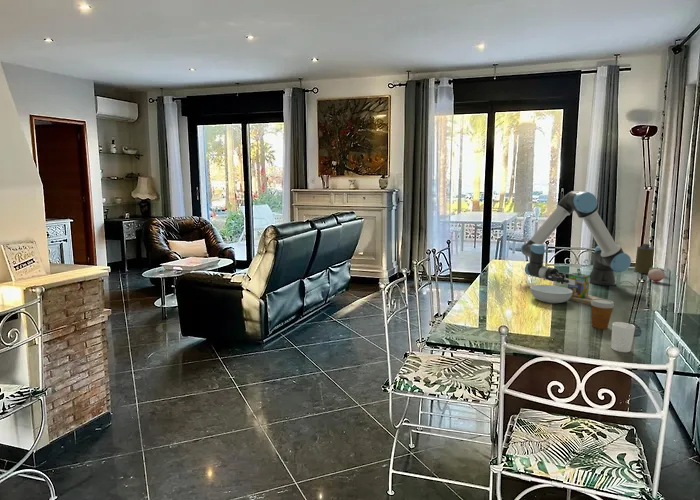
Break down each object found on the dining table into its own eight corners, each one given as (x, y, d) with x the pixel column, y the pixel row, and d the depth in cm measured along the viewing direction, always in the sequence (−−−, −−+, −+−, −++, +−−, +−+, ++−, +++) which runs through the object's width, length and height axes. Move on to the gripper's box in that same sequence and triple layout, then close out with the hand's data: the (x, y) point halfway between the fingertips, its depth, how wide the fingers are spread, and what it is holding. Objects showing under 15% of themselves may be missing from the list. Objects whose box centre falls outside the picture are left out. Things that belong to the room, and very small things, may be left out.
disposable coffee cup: (583, 323, 231) (586, 298, 229) (603, 323, 232) (606, 298, 230) (595, 330, 221) (598, 303, 219) (616, 330, 222) (619, 304, 220)
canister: (654, 274, 349) (658, 245, 345) (639, 273, 349) (642, 244, 345) (645, 270, 359) (649, 243, 356) (630, 270, 359) (634, 242, 356)
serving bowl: (569, 298, 275) (570, 286, 274) (572, 308, 256) (574, 295, 254) (529, 294, 282) (530, 282, 281) (529, 304, 262) (530, 291, 261)
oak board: (569, 292, 289) (569, 289, 289) (607, 302, 269) (608, 299, 269) (552, 294, 283) (552, 292, 282) (591, 305, 262) (591, 302, 262)
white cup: (611, 344, 204) (613, 320, 202) (633, 348, 200) (636, 324, 198) (608, 350, 198) (610, 325, 196) (630, 354, 193) (634, 329, 192)
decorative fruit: (648, 282, 321) (650, 267, 319) (646, 280, 328) (648, 265, 326) (665, 284, 317) (667, 268, 315) (662, 281, 325) (664, 266, 323)
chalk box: (584, 298, 269) (587, 271, 267) (566, 295, 275) (569, 268, 273) (588, 295, 277) (591, 269, 274) (571, 292, 282) (574, 266, 280)
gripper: (562, 278, 298) (595, 286, 279) (534, 281, 287) (566, 290, 268) (563, 265, 297) (597, 273, 278) (535, 268, 285) (568, 276, 267)
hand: (582, 281), depth 273 cm, fingers closed on chalk box, 11 cm apart
